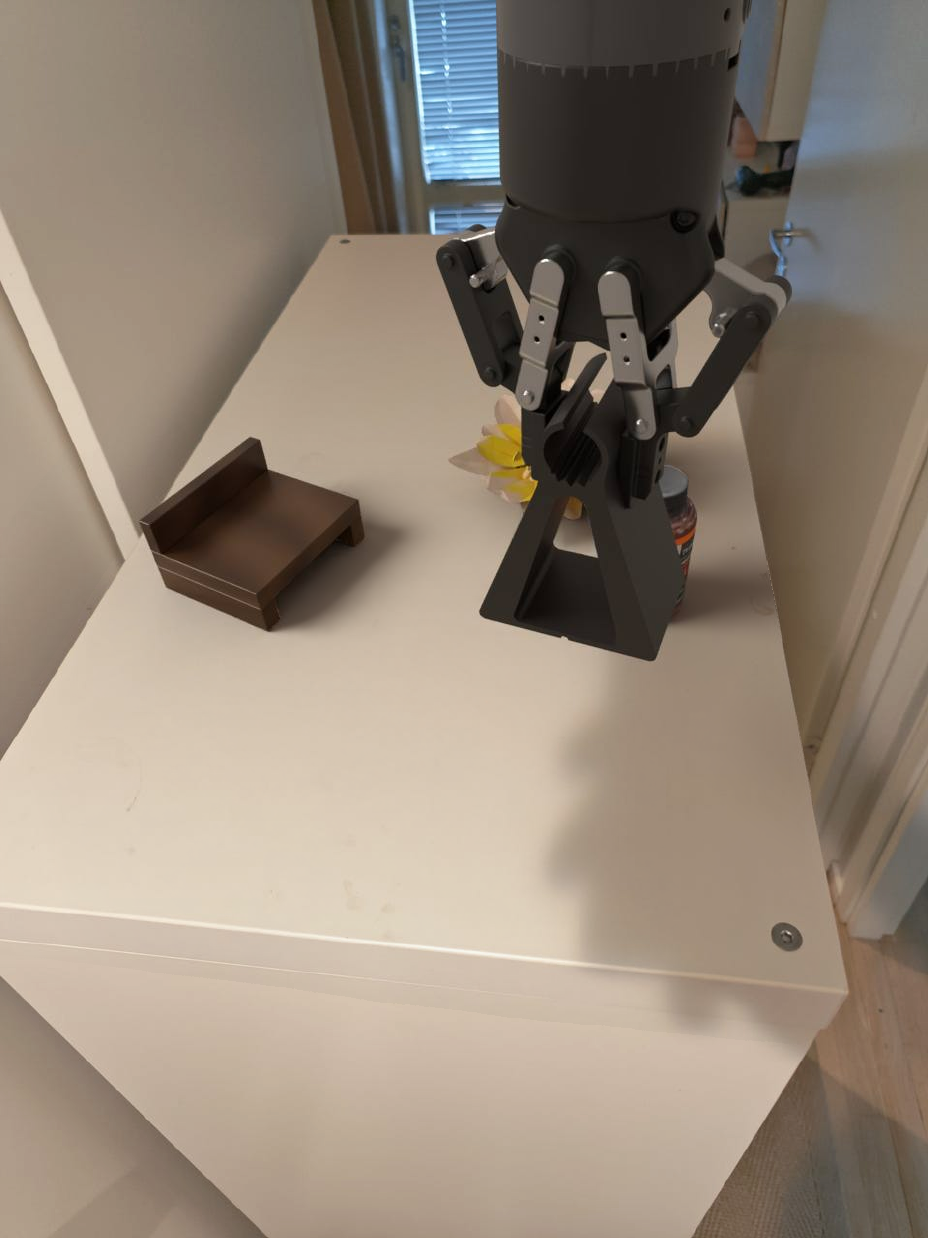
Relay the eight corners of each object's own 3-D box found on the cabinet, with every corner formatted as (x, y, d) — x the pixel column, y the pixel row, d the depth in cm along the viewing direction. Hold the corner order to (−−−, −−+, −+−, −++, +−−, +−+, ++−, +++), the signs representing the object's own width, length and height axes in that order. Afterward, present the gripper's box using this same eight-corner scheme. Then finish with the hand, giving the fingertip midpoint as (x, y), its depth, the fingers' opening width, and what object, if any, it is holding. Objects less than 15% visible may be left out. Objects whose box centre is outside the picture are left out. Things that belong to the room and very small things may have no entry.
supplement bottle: (683, 630, 63) (705, 508, 55) (602, 624, 64) (613, 503, 56) (681, 576, 67) (702, 456, 59) (605, 571, 68) (616, 452, 60)
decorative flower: (424, 458, 78) (443, 355, 71) (522, 442, 83) (548, 346, 77) (516, 554, 69) (546, 447, 63) (618, 529, 75) (656, 429, 68)
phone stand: (478, 617, 43) (466, 405, 34) (521, 544, 46) (519, 338, 38) (655, 663, 40) (689, 445, 31) (684, 583, 44) (722, 369, 35)
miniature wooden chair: (268, 632, 65) (246, 563, 60) (165, 587, 70) (138, 520, 65) (365, 536, 73) (353, 468, 68) (267, 502, 77) (249, 436, 72)
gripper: (361, 38, 27) (413, 487, 39) (820, 70, 21) (713, 584, 33) (481, -7, 31) (495, 409, 43) (888, 10, 25) (772, 483, 37)
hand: (590, 483), depth 38 cm, fingers closed on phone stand, 3 cm apart
